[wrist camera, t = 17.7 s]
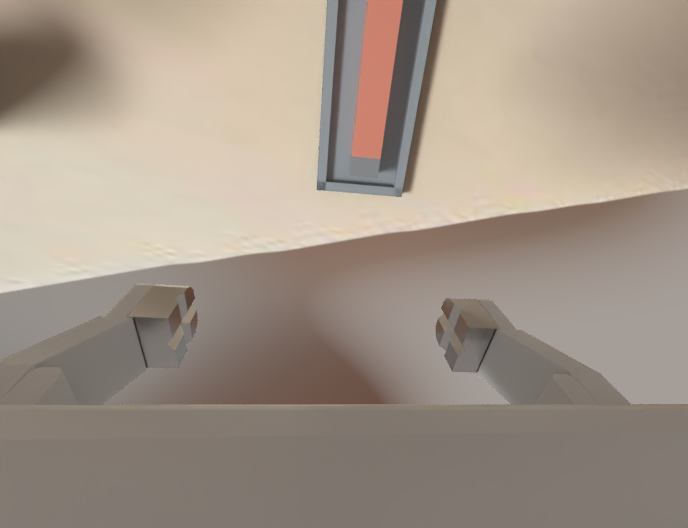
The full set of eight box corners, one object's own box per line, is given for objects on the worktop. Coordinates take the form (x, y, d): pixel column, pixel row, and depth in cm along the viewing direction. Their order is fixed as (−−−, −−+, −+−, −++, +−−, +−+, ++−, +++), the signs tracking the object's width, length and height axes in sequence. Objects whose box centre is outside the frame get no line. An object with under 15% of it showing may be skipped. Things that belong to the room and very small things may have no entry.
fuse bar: (348, 170, 36) (350, 175, 33) (369, -34, 28) (373, -48, 25) (374, 172, 36) (377, 178, 34) (401, -29, 28) (409, -43, 26)
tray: (317, 186, 37) (316, 189, 36) (333, -94, 27) (333, -105, 25) (398, 193, 38) (401, 196, 37) (445, -76, 28) (452, -86, 26)
